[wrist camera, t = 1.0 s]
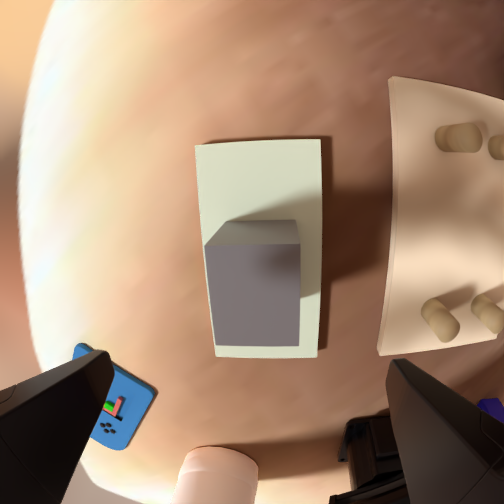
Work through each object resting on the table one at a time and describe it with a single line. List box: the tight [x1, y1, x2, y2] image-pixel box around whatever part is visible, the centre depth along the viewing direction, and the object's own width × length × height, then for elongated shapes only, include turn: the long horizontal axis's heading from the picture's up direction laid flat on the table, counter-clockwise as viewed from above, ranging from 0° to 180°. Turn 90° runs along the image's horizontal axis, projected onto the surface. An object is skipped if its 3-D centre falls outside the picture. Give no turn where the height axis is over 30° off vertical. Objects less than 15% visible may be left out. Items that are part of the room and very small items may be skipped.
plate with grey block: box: [195, 139, 322, 358], centre depth 16 cm, size 7×14×6 cm, turn 3°
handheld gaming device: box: [72, 343, 155, 450], centre depth 25 cm, size 8×1×15 cm
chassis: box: [377, 76, 504, 356], centre depth 15 cm, size 18×11×4 cm, turn 3°
